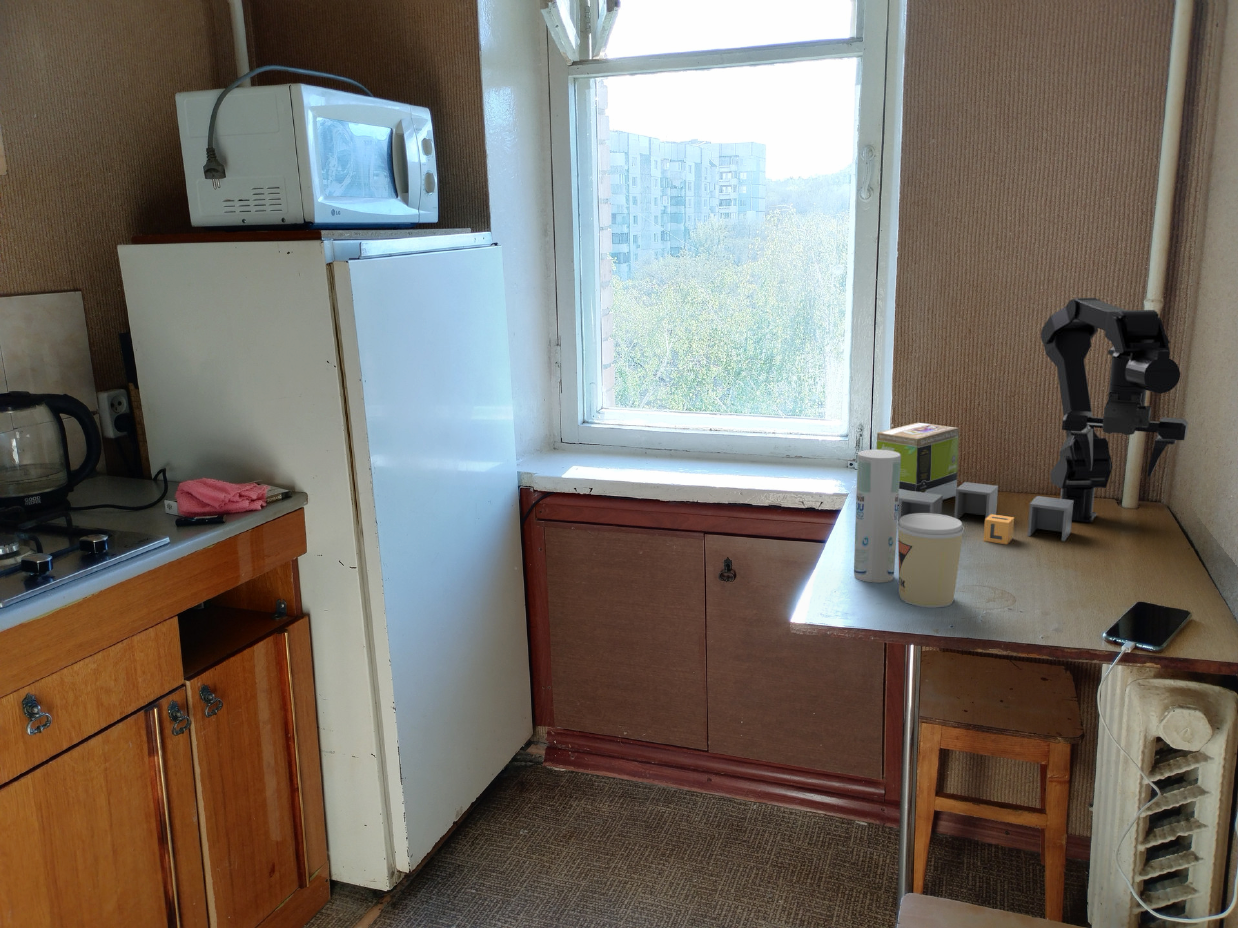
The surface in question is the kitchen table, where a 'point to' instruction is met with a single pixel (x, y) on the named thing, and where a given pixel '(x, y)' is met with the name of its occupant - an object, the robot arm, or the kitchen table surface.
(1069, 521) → the grey bracket
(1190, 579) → the kitchen table surface
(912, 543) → the coffee cup
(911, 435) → the tea box
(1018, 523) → the kitchen table surface
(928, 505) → the grey u-shaped block
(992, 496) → the open box
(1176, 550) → the kitchen table surface
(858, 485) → the spray can
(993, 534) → the orange cube
